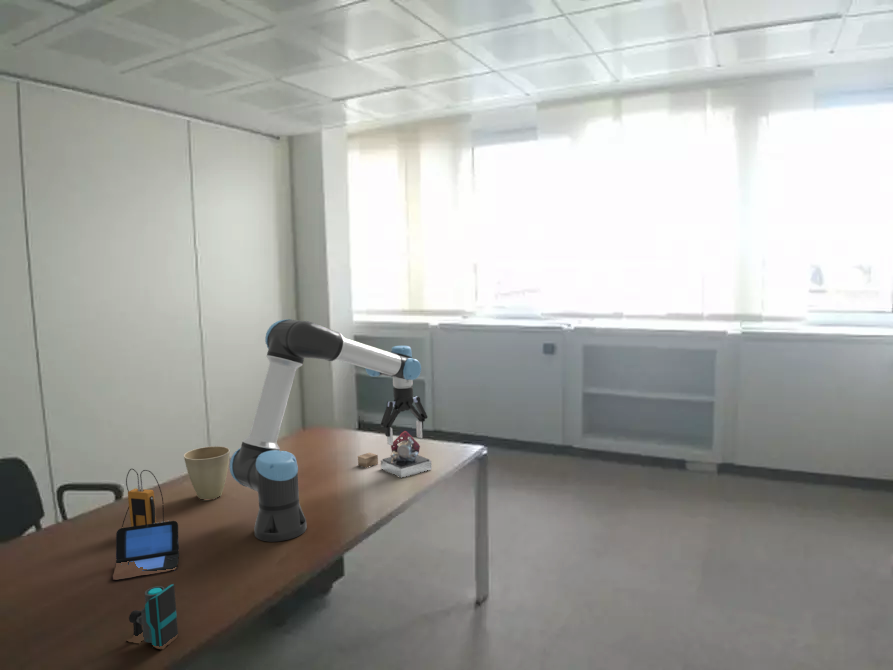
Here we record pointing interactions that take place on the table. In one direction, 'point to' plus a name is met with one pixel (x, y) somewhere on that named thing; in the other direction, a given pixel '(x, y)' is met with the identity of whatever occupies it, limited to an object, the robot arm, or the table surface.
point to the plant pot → (208, 470)
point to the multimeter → (141, 504)
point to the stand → (406, 466)
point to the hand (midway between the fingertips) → (405, 441)
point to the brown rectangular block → (367, 459)
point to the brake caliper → (404, 448)
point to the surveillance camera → (157, 616)
